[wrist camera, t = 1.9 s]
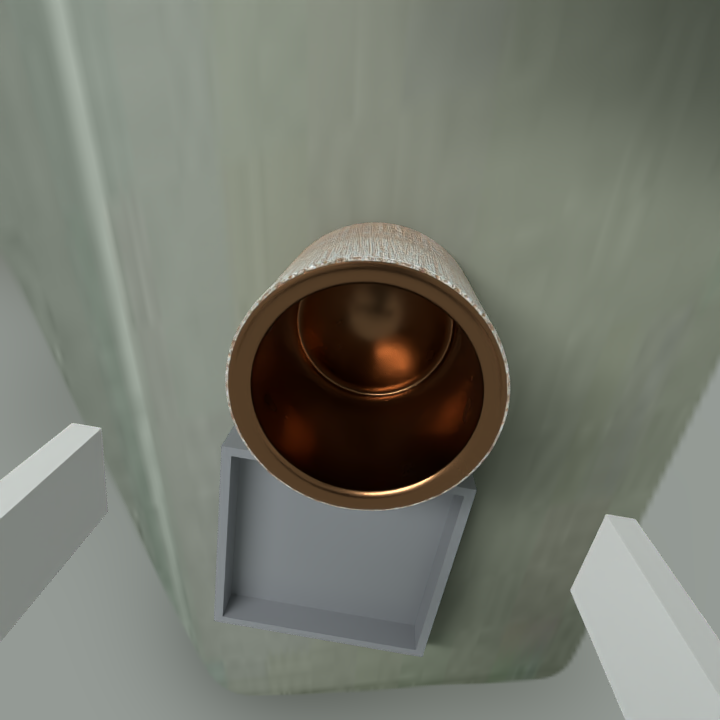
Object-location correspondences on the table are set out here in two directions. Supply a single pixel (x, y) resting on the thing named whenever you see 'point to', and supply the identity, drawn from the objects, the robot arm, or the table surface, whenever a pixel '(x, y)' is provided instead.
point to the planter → (369, 372)
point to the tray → (331, 560)
